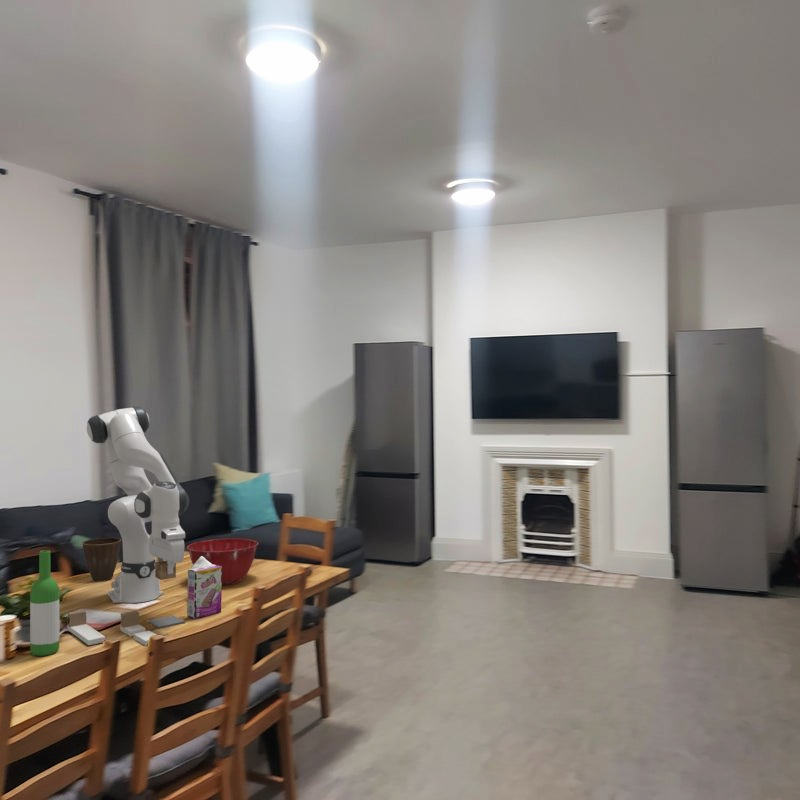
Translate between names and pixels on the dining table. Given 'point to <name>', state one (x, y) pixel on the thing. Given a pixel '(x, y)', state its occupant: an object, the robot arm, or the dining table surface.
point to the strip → (83, 628)
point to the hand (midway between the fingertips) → (165, 571)
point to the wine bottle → (44, 610)
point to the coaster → (166, 621)
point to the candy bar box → (204, 591)
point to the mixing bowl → (226, 556)
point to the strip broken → (134, 627)
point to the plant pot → (101, 557)
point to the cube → (163, 570)
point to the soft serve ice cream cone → (201, 563)
